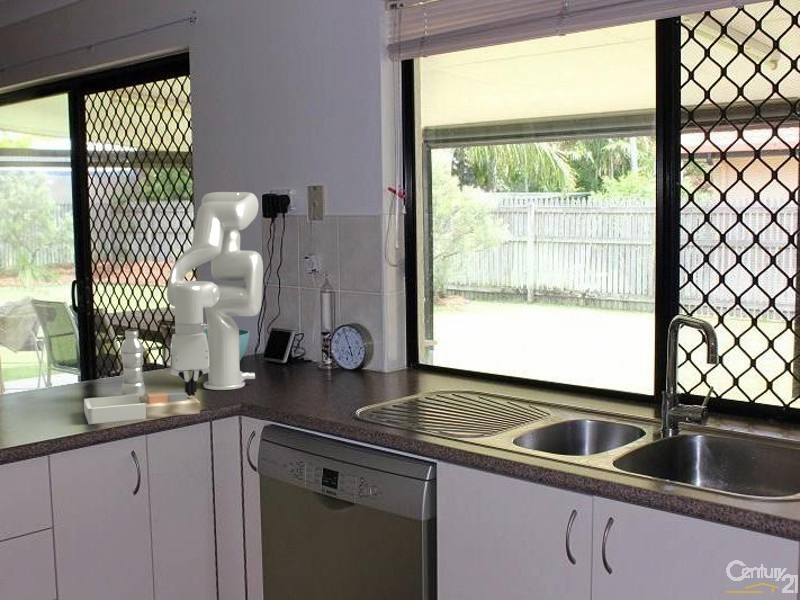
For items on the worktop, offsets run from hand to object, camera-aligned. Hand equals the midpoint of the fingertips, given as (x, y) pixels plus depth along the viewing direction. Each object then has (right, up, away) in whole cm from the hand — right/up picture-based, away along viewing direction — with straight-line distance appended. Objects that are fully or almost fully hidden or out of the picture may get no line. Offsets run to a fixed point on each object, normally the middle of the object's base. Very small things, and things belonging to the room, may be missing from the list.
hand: (190, 394), depth 242 cm
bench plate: (-5, -4, -2) cm, 7 cm away
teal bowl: (-4, +3, +62) cm, 62 cm away
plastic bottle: (-20, -3, +13) cm, 24 cm away
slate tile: (-4, -1, -1) cm, 4 cm away
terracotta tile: (-8, -1, -3) cm, 9 cm away
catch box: (-18, -5, -8) cm, 21 cm away
